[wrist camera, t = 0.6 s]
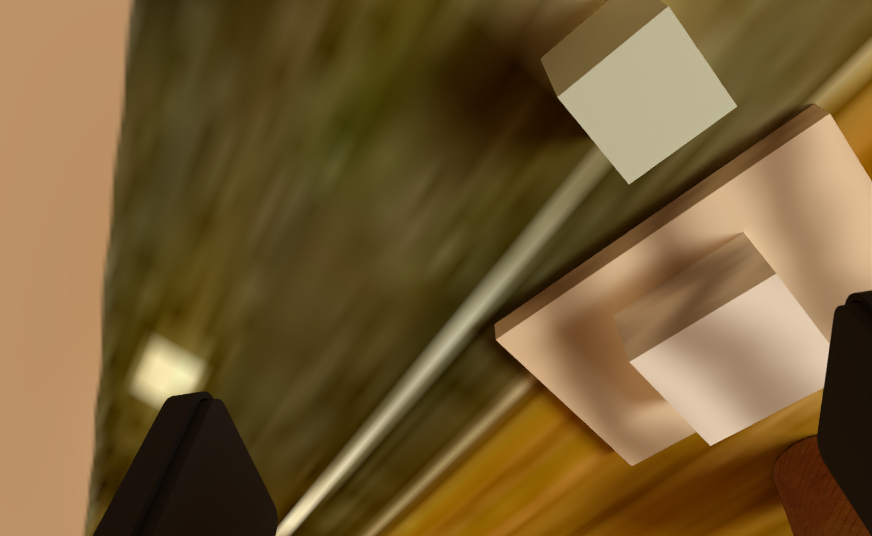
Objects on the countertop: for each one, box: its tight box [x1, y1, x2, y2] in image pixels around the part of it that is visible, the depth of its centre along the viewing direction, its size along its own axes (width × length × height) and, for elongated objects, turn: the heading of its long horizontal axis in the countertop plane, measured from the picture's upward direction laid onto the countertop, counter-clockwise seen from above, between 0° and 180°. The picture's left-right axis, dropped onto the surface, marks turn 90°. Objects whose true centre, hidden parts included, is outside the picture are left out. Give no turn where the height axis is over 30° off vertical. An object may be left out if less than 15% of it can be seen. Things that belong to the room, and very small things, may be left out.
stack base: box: [494, 103, 872, 466], centre depth 35 cm, size 20×14×6 cm
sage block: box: [540, 0, 737, 184], centre depth 28 cm, size 5×5×6 cm
